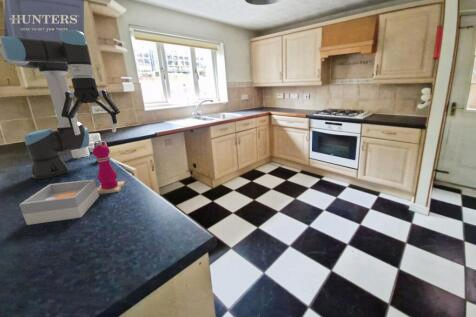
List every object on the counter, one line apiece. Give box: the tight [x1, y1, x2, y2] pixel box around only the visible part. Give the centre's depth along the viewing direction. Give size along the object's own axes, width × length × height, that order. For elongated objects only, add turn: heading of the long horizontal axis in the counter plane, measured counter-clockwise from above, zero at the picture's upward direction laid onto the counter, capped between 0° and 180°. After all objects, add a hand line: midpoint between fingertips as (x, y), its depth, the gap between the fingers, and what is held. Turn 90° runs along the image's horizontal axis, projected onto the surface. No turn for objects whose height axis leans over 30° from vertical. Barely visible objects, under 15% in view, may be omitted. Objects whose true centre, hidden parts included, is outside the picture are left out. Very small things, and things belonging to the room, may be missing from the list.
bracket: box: [70, 132, 102, 159], centre depth 156 cm, size 25×10×12 cm, turn 1°
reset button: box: [54, 193, 77, 199], centre depth 80 cm, size 6×6×4 cm
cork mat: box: [97, 180, 126, 195], centre depth 97 cm, size 10×10×1 cm
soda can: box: [94, 139, 108, 148], centre depth 138 cm, size 7×7×12 cm
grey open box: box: [18, 178, 100, 226], centre depth 80 cm, size 16×16×8 cm
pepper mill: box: [92, 142, 118, 189], centre depth 94 cm, size 7×7×20 cm
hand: (96, 133), depth 90 cm, fingers open, 13 cm apart
